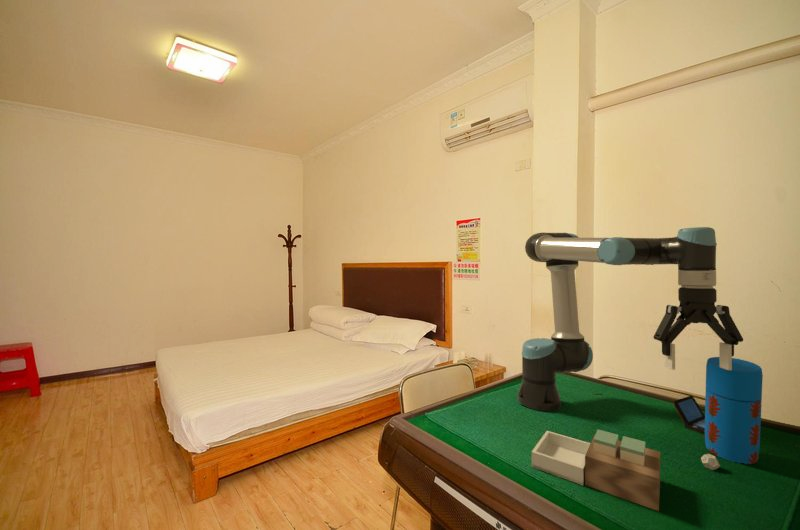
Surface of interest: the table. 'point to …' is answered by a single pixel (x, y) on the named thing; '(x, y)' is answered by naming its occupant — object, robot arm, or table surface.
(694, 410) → the handheld game console
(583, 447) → the bin
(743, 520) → the table surface
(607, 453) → the tile
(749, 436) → the thermos
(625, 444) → the tile
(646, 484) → the walnut block
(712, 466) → the game die
